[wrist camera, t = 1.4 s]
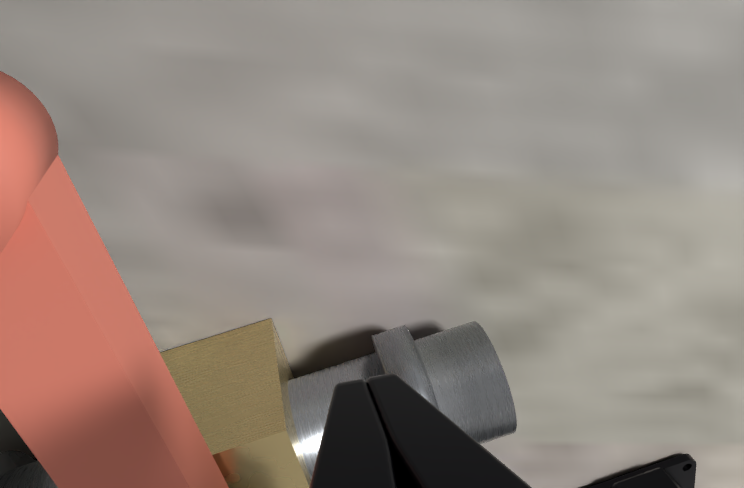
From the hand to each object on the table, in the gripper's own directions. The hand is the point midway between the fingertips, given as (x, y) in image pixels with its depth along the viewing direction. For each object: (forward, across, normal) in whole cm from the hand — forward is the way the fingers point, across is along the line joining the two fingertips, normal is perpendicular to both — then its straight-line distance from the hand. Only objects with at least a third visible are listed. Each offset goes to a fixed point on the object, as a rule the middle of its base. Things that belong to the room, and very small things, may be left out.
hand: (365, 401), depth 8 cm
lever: (+6, +5, +4) cm, 9 cm away
